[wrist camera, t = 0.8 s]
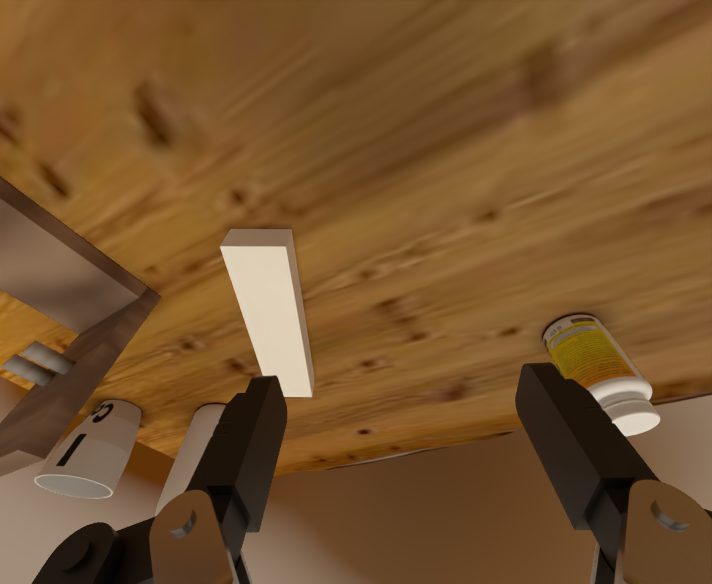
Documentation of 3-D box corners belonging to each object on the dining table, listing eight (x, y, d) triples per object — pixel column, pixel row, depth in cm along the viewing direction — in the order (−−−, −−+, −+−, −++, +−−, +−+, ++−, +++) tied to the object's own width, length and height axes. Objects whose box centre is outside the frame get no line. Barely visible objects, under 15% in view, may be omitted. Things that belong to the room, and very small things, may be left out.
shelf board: (231, 226, 26) (219, 246, 24) (292, 226, 26) (285, 246, 24) (275, 375, 40) (270, 396, 38) (314, 375, 40) (312, 396, 38)
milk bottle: (189, 418, 47) (107, 610, 32) (205, 396, 43) (119, 604, 28) (239, 433, 50) (185, 615, 35) (259, 413, 45) (208, 610, 30)
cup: (111, 387, 42) (55, 469, 34) (165, 413, 46) (126, 491, 38) (79, 403, 45) (21, 483, 37) (132, 427, 49) (90, 502, 41)
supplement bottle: (529, 337, 34) (578, 431, 26) (574, 304, 31) (646, 400, 23) (564, 353, 36) (620, 446, 28) (611, 323, 32) (689, 419, 25)
